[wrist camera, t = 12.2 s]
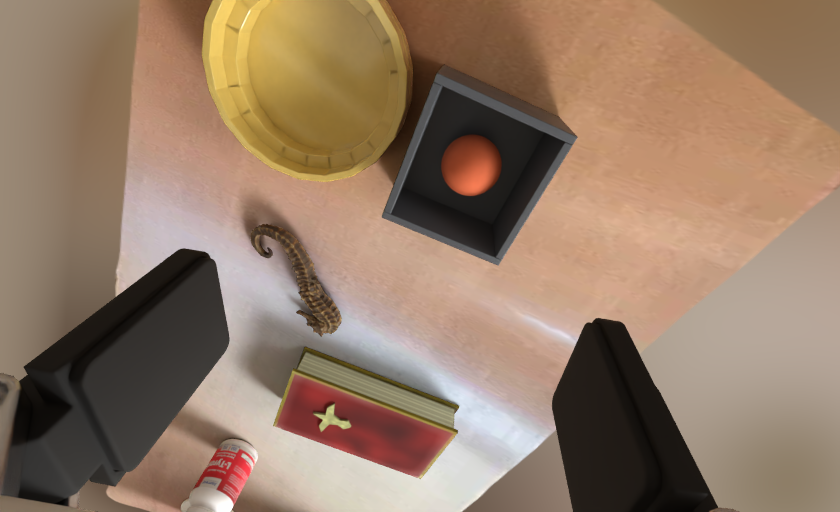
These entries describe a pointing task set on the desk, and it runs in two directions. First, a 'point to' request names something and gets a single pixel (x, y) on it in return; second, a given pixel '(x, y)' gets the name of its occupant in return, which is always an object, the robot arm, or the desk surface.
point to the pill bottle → (223, 477)
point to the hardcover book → (365, 414)
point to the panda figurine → (186, 505)
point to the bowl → (309, 81)
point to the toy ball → (471, 165)
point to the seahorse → (302, 279)
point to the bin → (520, 172)
